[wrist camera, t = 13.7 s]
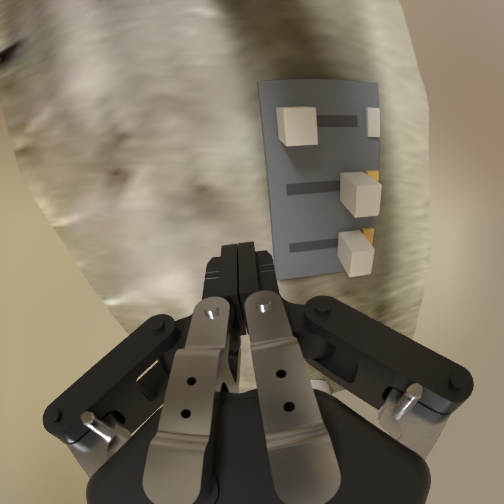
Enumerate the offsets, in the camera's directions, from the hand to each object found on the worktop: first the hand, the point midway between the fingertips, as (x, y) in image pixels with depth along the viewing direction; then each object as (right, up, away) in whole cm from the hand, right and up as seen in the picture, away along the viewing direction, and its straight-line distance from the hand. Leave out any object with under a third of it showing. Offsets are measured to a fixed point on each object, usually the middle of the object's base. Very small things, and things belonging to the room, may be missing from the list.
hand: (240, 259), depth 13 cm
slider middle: (+13, +8, +18) cm, 23 cm away
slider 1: (+5, +14, +14) cm, 20 cm away
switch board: (+9, +9, +20) cm, 24 cm away
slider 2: (+13, +2, +22) cm, 26 cm away
